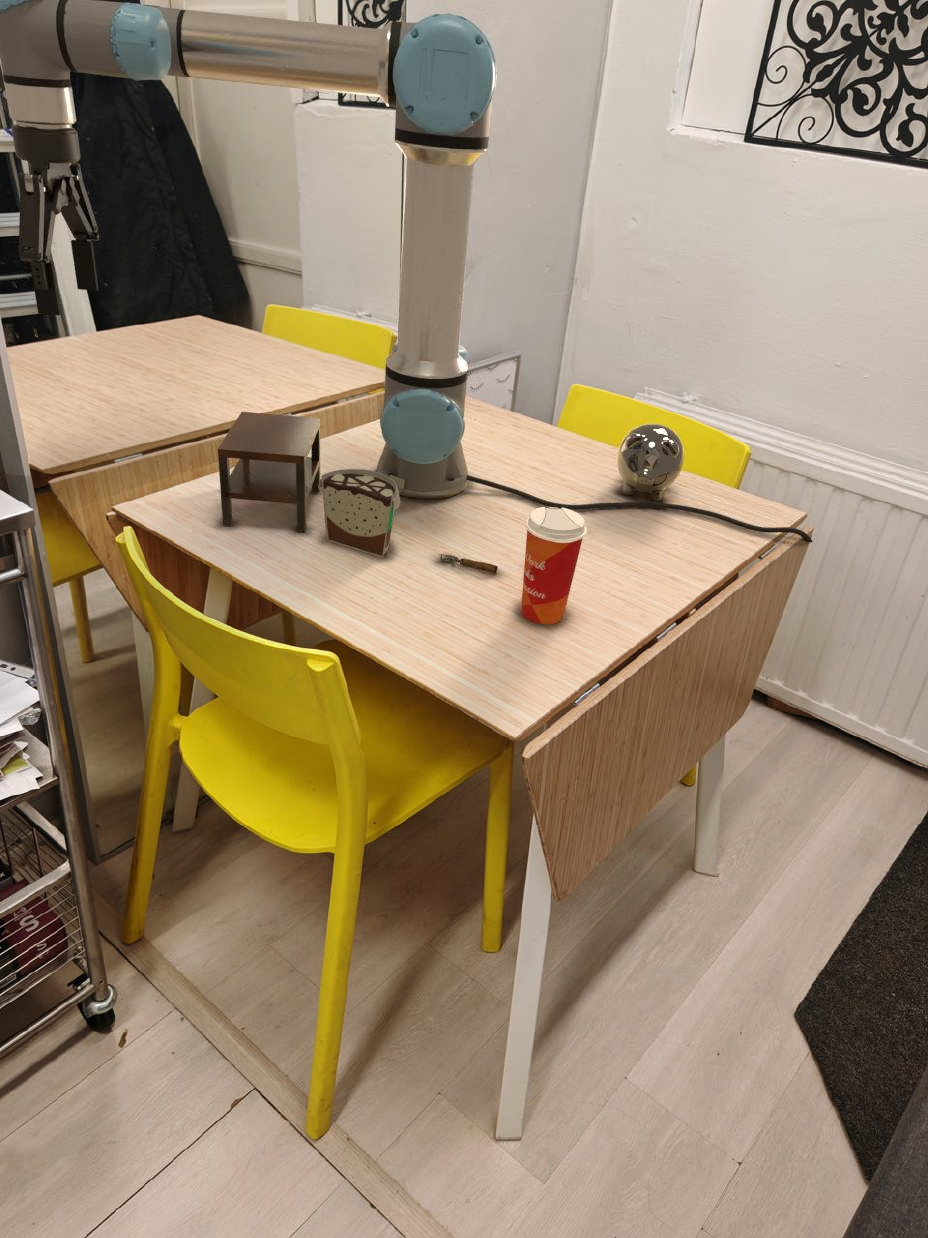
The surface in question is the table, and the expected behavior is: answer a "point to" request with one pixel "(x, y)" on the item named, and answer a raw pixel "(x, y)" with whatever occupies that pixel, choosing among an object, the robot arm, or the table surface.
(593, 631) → the table surface
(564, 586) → the paper cup
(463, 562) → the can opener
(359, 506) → the food container
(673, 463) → the piggy bank
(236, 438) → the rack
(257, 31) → the robot arm
